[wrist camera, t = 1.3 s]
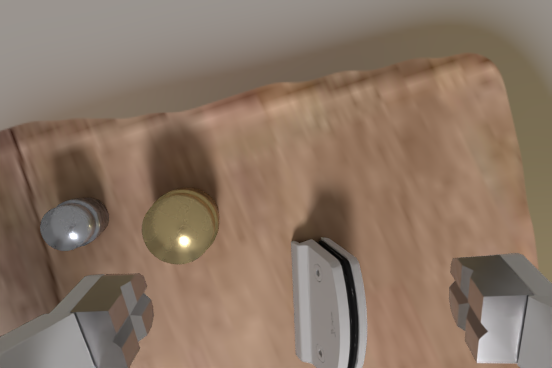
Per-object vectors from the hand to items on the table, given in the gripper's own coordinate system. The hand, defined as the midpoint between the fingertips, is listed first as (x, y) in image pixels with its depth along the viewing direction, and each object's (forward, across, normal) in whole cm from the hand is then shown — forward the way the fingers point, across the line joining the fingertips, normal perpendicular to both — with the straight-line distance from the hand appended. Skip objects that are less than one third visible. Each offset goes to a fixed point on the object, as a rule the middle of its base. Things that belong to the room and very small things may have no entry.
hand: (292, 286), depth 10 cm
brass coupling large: (+33, -16, -13) cm, 39 cm away
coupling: (+31, -28, -12) cm, 44 cm away
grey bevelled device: (+33, 0, -26) cm, 42 cm away
